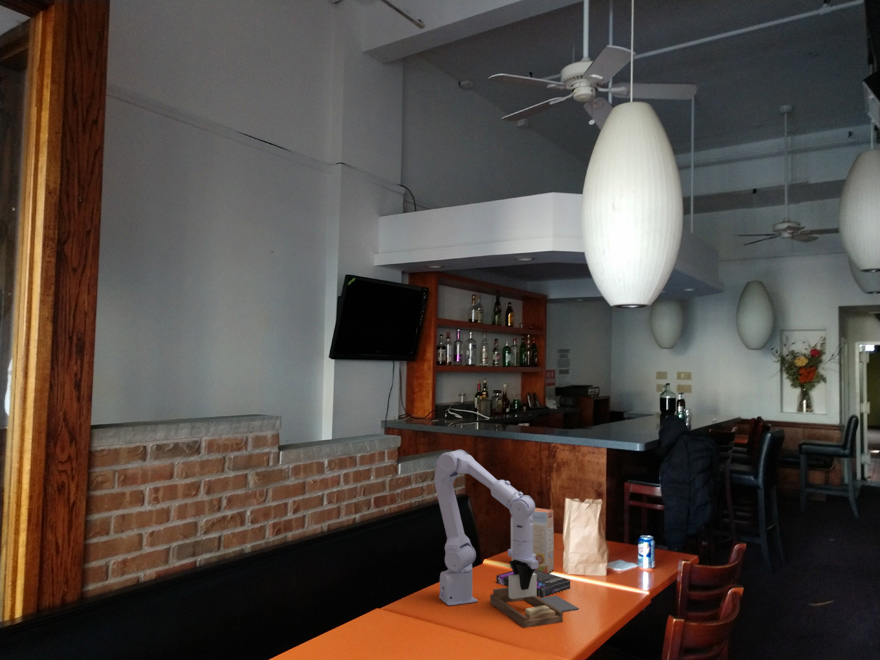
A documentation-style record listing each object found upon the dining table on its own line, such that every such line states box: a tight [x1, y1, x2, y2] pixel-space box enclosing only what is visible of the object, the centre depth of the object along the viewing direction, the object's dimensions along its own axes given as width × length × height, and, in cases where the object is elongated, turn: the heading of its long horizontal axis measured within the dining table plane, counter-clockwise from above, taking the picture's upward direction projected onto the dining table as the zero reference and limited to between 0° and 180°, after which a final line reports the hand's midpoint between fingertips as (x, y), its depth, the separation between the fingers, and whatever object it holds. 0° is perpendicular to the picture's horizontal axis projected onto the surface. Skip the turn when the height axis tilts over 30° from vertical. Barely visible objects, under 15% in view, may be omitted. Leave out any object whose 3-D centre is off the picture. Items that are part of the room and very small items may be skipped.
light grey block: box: [509, 573, 538, 599], centre depth 192 cm, size 8×2×6 cm, turn 112°
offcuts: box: [524, 605, 555, 620], centre depth 183 cm, size 9×3×4 cm, turn 112°
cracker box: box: [510, 507, 555, 574], centre depth 233 cm, size 14×6×21 cm, turn 58°
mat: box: [539, 595, 580, 613], centre depth 197 cm, size 9×12×1 cm
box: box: [495, 570, 571, 598], centre depth 215 cm, size 14×4×20 cm
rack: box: [489, 586, 564, 628], centre depth 191 cm, size 12×20×4 cm, turn 22°
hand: (522, 587), depth 192 cm, fingers closed on light grey block, 2 cm apart
